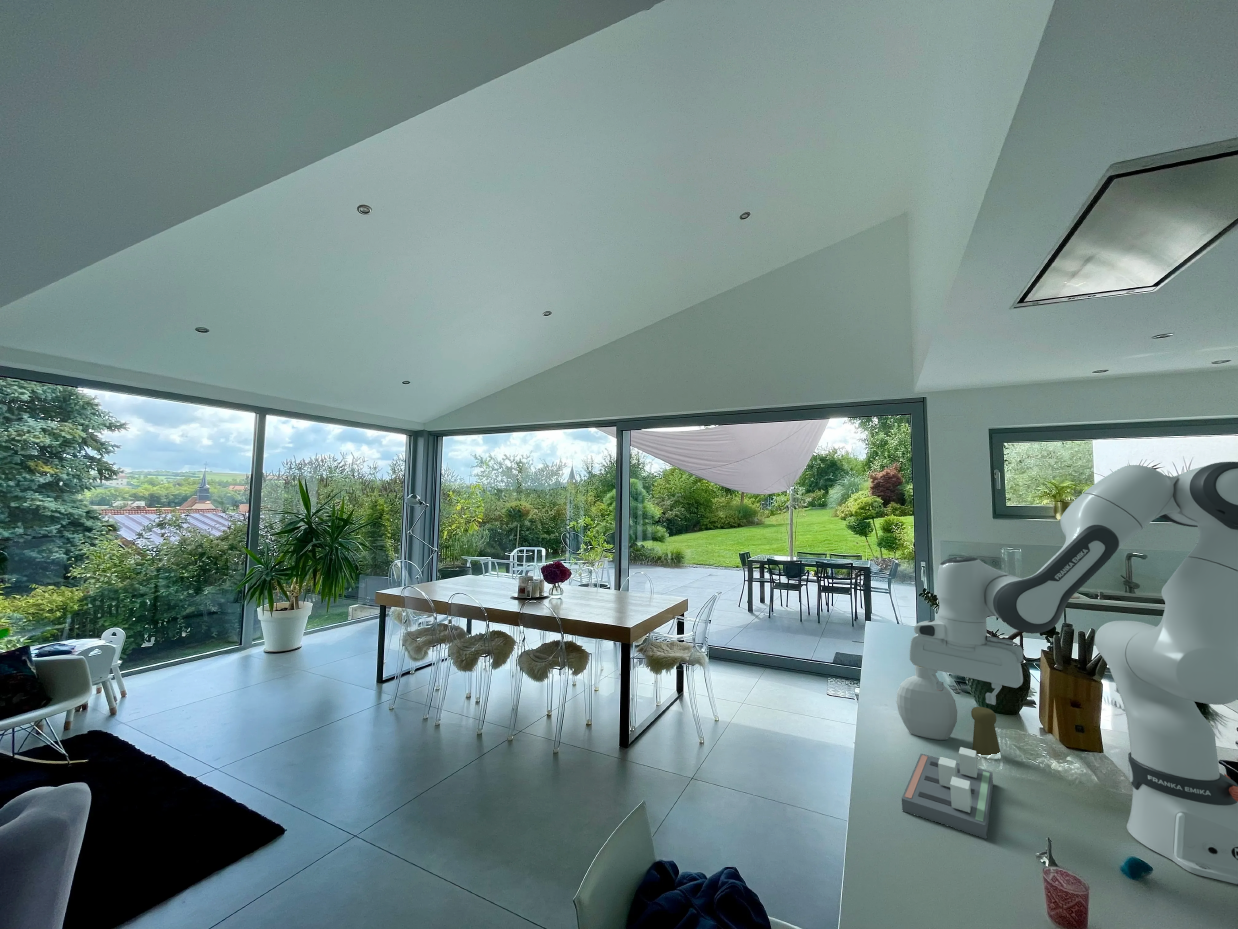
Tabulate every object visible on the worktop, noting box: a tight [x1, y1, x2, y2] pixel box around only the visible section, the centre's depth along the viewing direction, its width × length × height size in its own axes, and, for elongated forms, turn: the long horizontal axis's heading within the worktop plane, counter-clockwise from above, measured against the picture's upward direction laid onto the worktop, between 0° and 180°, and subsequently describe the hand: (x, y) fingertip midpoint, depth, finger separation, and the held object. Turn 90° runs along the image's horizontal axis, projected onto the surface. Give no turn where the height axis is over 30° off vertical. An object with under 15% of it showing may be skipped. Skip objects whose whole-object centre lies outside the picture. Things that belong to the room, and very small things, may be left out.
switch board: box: [901, 753, 994, 840], centre depth 106 cm, size 14×24×3 cm, turn 140°
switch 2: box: [950, 776, 972, 813], centre depth 99 cm, size 3×4×4 cm
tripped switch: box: [938, 756, 958, 787], centre depth 107 cm, size 3×4×4 cm
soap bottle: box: [895, 665, 958, 741], centre depth 136 cm, size 14×9×26 cm, turn 60°
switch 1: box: [958, 746, 979, 778], centre depth 111 cm, size 3×4×4 cm
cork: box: [970, 706, 1001, 755], centre depth 125 cm, size 6×6×11 cm
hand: (964, 696), depth 107 cm, fingers open, 8 cm apart
